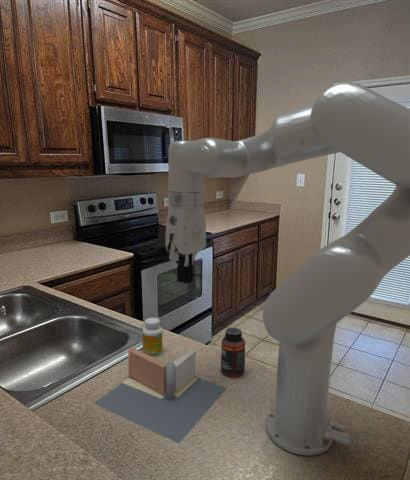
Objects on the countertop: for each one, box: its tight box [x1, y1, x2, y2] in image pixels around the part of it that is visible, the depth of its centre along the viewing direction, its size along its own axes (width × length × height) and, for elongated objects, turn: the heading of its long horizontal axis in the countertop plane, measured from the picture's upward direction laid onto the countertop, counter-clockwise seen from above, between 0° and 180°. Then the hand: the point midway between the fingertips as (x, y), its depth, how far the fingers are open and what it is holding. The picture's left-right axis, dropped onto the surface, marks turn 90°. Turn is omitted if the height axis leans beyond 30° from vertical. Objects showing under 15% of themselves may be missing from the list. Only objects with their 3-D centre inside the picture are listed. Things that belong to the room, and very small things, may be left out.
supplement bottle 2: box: [220, 327, 246, 379], centre depth 88 cm, size 6×6×11 cm
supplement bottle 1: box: [141, 317, 163, 358], centre depth 97 cm, size 5×5×10 cm
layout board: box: [93, 349, 228, 444], centre depth 78 cm, size 22×20×8 cm
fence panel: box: [127, 347, 167, 394], centre depth 81 cm, size 12×2×7 cm, turn 52°
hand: (185, 281), depth 80 cm, fingers closed
